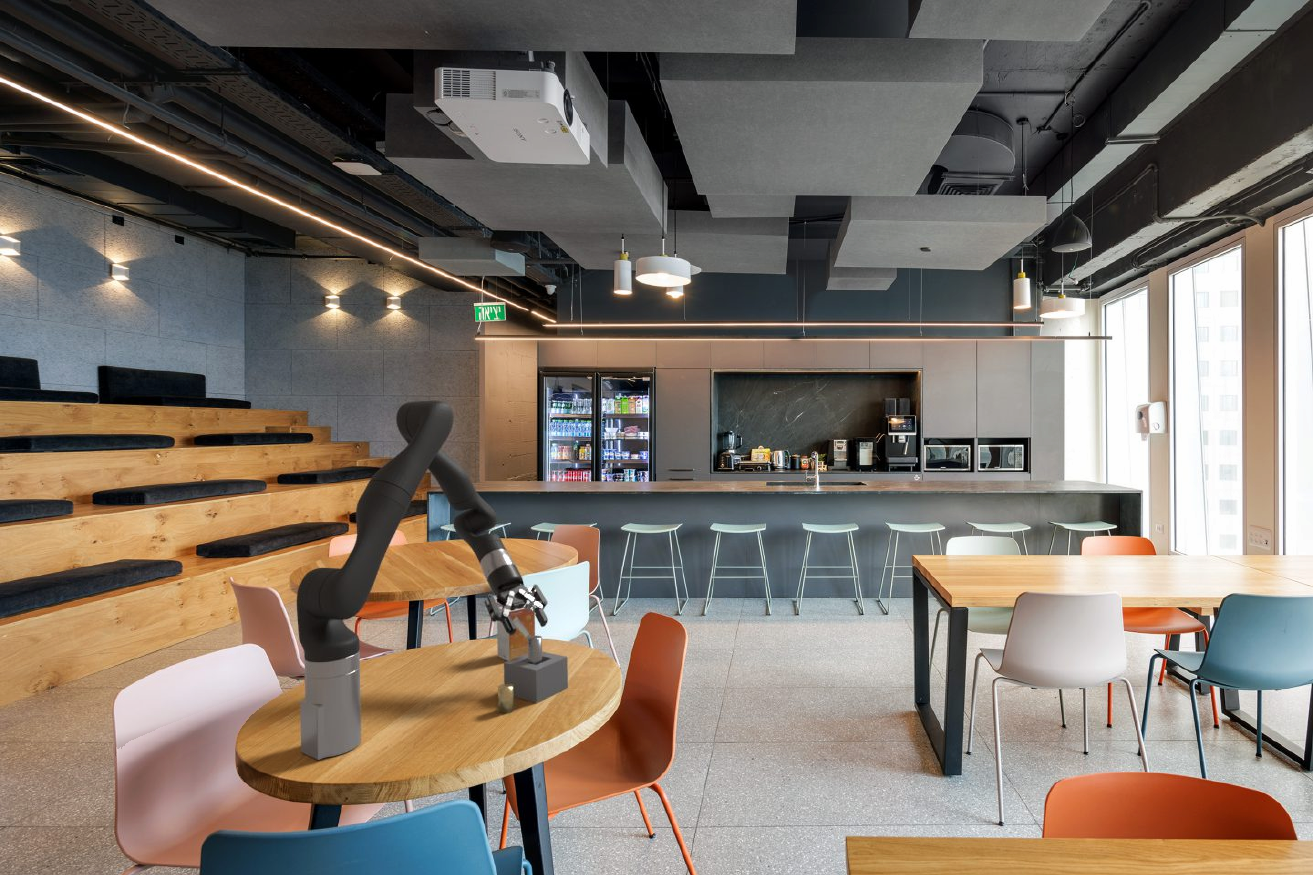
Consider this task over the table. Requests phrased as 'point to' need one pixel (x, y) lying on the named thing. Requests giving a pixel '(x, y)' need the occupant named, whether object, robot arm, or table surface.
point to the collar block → (537, 676)
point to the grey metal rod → (535, 650)
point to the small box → (515, 634)
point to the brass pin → (505, 698)
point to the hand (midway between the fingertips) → (529, 628)
